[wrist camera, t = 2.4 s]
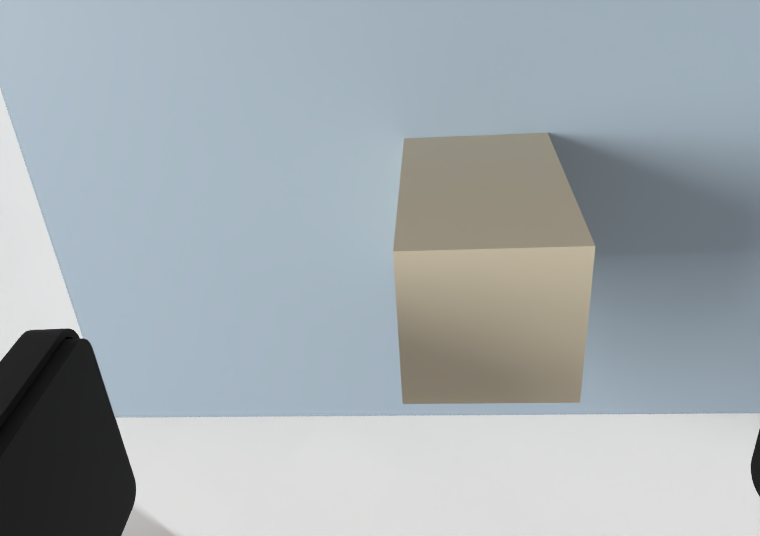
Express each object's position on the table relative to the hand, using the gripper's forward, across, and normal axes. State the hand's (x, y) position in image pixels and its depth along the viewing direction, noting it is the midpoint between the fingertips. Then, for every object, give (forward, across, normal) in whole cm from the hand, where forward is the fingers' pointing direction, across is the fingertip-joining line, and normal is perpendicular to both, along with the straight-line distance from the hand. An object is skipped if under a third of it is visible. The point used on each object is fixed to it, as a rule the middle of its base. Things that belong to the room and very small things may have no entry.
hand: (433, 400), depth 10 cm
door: (+8, -1, 0) cm, 8 cm away
